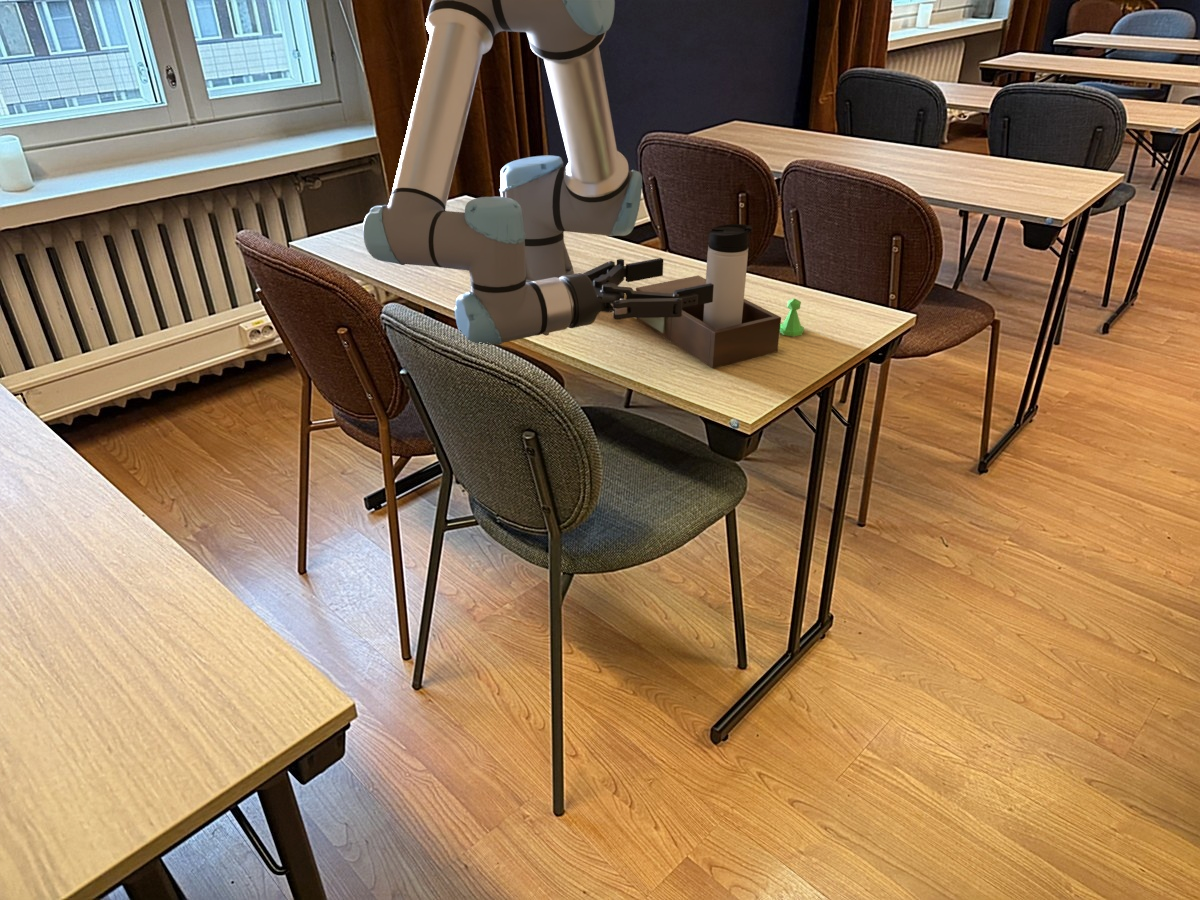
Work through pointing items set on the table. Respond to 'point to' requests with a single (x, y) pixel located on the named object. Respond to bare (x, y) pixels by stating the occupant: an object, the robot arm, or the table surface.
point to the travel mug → (726, 274)
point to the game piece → (792, 320)
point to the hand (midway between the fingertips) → (686, 279)
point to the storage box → (713, 344)
